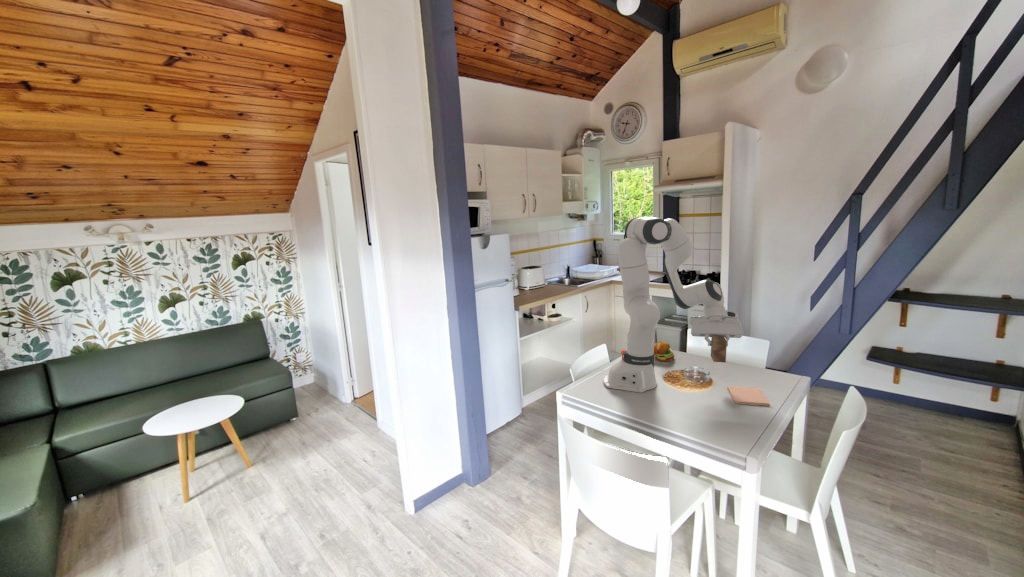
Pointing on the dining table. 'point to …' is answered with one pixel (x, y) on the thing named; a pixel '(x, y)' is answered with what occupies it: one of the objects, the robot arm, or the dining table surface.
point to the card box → (718, 348)
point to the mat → (747, 395)
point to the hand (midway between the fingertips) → (718, 345)
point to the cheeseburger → (663, 351)
